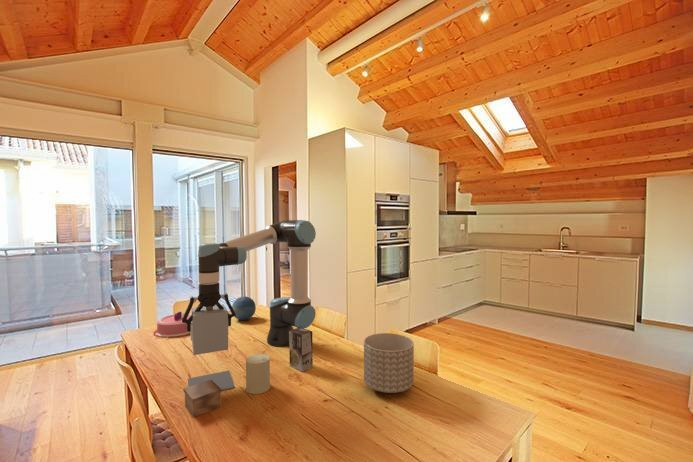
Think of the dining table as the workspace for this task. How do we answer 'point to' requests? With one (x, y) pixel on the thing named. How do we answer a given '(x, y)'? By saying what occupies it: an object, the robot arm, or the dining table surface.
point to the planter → (388, 362)
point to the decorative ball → (244, 308)
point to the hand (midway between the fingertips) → (209, 336)
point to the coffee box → (300, 349)
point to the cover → (210, 330)
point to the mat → (214, 380)
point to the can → (257, 373)
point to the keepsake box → (202, 397)
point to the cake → (171, 326)
